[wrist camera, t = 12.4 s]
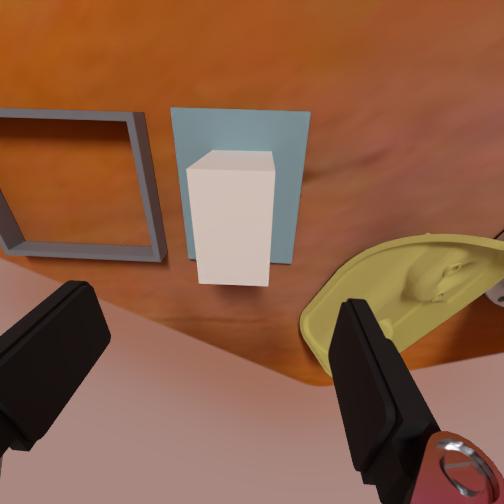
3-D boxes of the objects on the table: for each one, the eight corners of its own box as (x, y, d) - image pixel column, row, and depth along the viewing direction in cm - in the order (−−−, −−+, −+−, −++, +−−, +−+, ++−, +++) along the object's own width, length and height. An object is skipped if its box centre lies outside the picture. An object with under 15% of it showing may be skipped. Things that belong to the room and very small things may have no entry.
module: (271, 151, 20) (275, 171, 13) (267, 236, 24) (268, 286, 17) (212, 150, 21) (186, 168, 14) (217, 235, 25) (199, 283, 18)
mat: (309, 111, 19) (310, 111, 19) (290, 261, 26) (291, 263, 26) (172, 107, 20) (170, 107, 19) (189, 256, 27) (188, 258, 26)
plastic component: (378, 368, 31) (323, 381, 26) (344, 318, 36) (293, 322, 31) (539, 254, 20) (501, 239, 15) (460, 206, 25) (411, 183, 20)
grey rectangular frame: (143, 112, 20) (132, 112, 18) (167, 252, 26) (160, 262, 25) (-53, 106, 20) (-83, 105, 19) (18, 245, 27) (1, 254, 25)
